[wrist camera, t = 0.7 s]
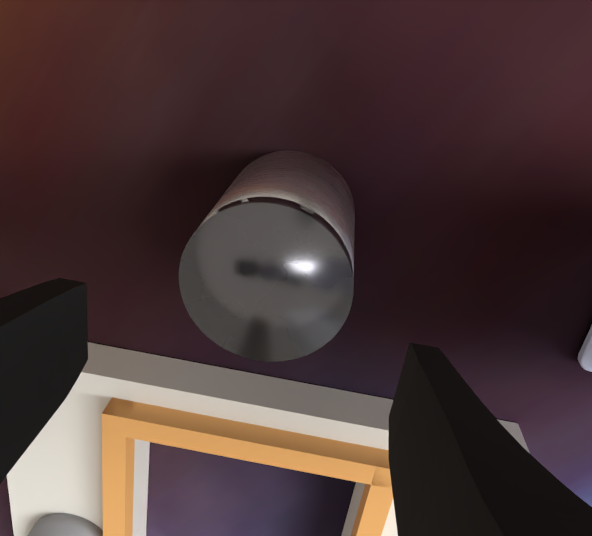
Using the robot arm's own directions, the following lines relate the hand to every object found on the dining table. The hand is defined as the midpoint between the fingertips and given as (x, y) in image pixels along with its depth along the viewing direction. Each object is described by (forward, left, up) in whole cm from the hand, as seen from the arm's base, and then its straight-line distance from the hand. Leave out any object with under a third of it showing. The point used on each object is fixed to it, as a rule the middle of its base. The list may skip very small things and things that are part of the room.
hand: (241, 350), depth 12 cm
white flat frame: (0, +15, -9) cm, 18 cm away
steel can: (0, 0, -9) cm, 9 cm away
